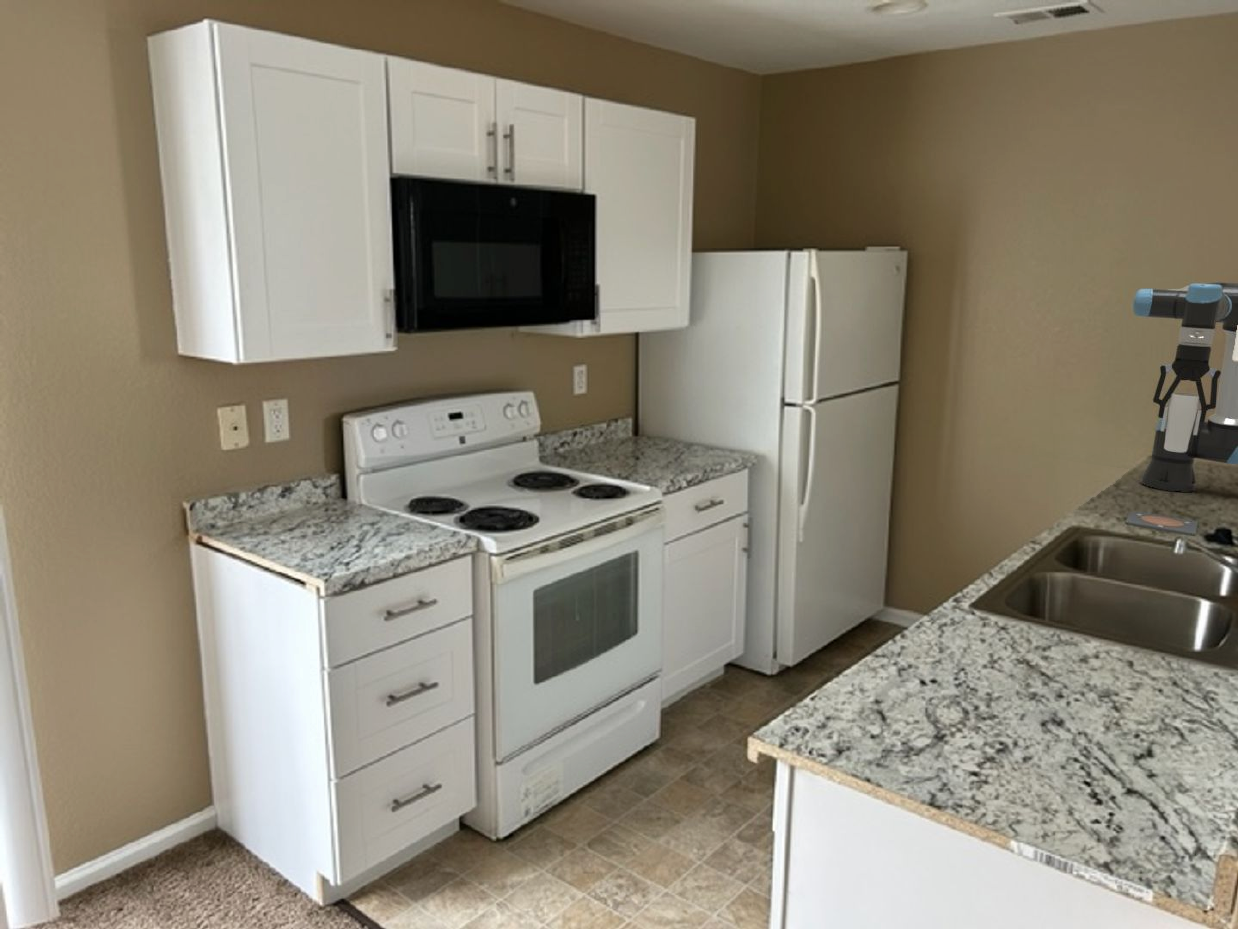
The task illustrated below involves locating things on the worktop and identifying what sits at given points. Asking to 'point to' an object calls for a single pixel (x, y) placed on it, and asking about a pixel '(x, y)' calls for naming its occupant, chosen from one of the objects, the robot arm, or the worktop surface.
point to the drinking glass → (1180, 421)
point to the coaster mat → (1162, 523)
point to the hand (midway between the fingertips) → (1178, 432)
